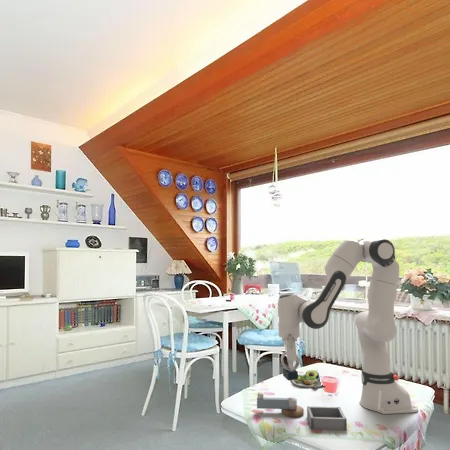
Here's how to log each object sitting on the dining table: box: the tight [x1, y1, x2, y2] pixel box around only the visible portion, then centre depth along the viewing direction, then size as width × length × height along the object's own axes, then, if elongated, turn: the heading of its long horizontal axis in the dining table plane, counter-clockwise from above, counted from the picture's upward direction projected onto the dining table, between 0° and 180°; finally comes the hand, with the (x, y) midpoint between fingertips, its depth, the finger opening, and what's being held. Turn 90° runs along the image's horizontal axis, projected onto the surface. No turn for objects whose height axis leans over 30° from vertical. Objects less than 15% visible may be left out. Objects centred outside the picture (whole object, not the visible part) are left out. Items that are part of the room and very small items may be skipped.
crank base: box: [280, 405, 305, 418], centre depth 158 cm, size 9×9×2 cm
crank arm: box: [256, 391, 298, 410], centre depth 159 cm, size 16×4×6 cm, turn 85°
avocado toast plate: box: [290, 369, 322, 389], centre depth 193 cm, size 19×18×5 cm
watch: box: [280, 350, 301, 381], centre depth 161 cm, size 6×8×11 cm
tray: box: [306, 405, 348, 431], centre depth 148 cm, size 13×11×4 cm
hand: (290, 365), depth 161 cm, fingers closed on watch, 4 cm apart
